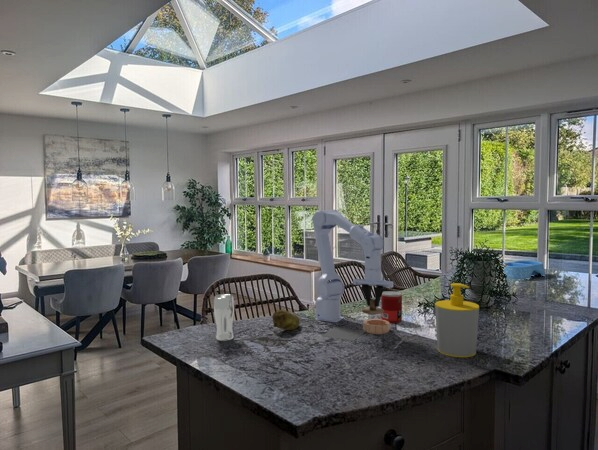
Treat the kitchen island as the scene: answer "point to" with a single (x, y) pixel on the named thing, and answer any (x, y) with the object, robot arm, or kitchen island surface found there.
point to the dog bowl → (523, 269)
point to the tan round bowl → (376, 326)
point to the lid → (372, 308)
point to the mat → (344, 333)
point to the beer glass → (224, 316)
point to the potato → (285, 320)
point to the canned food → (391, 306)
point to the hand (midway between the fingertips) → (373, 305)
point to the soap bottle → (457, 324)
